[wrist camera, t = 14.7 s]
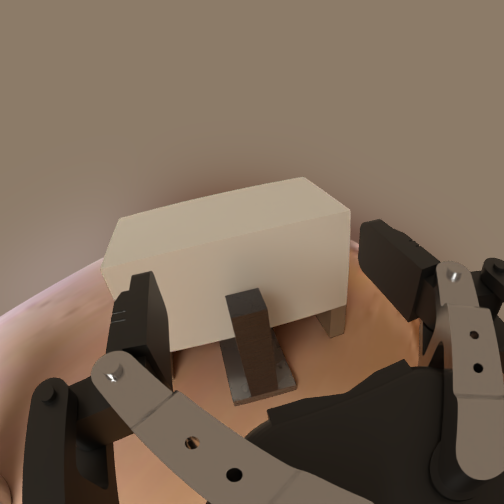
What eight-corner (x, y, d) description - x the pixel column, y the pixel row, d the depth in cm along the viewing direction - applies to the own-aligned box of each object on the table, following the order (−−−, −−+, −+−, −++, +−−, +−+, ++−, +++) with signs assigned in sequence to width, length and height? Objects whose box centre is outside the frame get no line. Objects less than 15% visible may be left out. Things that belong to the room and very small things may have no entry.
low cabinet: (343, 333, 37) (350, 210, 28) (159, 382, 34) (100, 269, 25) (305, 275, 49) (298, 173, 40) (158, 312, 45) (121, 213, 37)
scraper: (296, 390, 31) (291, 302, 24) (235, 406, 30) (206, 324, 23) (254, 288, 48) (241, 211, 41) (211, 299, 47) (191, 223, 40)
